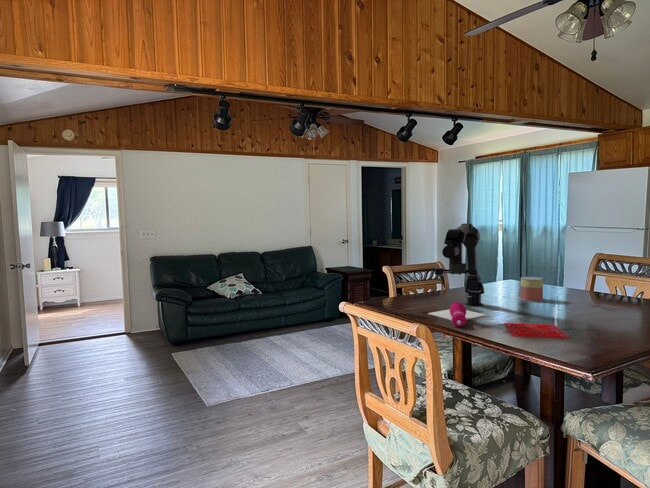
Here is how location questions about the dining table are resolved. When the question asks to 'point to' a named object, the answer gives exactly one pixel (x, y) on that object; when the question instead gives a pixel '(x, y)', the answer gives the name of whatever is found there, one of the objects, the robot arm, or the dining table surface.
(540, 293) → the canned food
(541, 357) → the dining table surface
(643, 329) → the dining table surface
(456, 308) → the pepper mill
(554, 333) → the maze puzzle
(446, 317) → the grey mat
